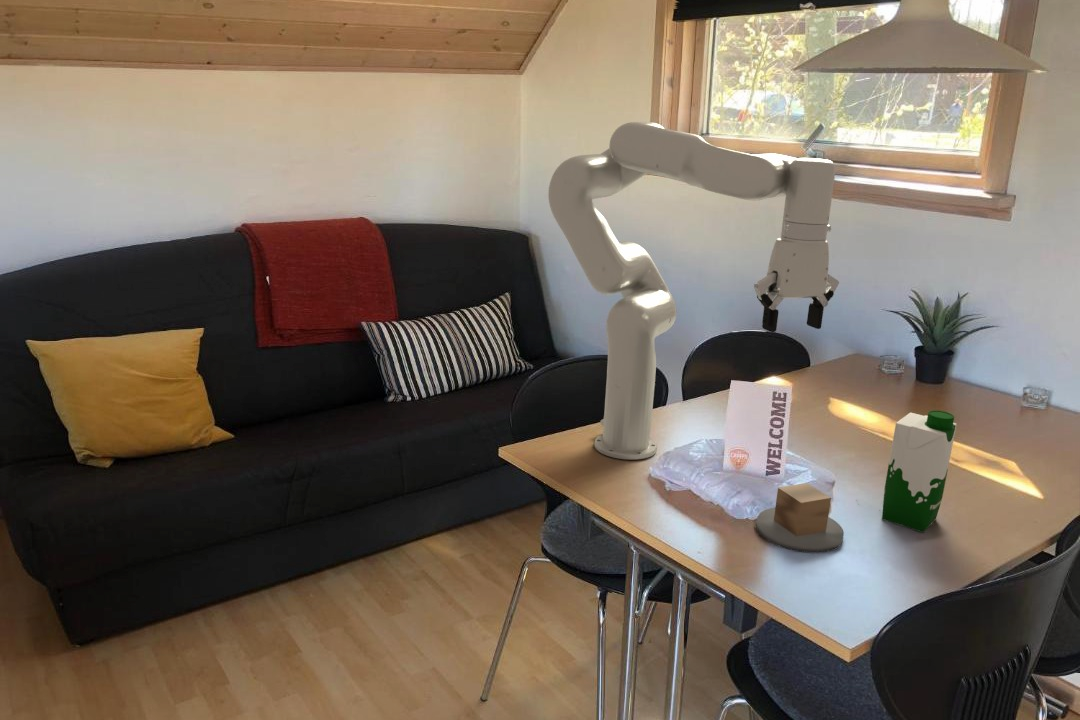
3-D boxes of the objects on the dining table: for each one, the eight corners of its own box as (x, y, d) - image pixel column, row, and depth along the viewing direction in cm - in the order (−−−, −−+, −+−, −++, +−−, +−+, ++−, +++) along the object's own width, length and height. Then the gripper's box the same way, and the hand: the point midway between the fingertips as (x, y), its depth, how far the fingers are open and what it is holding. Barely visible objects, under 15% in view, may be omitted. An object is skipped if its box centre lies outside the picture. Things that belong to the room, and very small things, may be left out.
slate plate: (739, 519, 153) (740, 513, 152) (805, 508, 158) (806, 502, 158) (791, 558, 141) (792, 551, 140) (861, 545, 146) (862, 538, 146)
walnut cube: (773, 520, 150) (778, 487, 149) (802, 515, 153) (807, 482, 151) (796, 536, 145) (801, 502, 144) (825, 531, 148) (831, 497, 146)
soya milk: (927, 536, 150) (948, 424, 144) (873, 518, 155) (892, 410, 150) (942, 519, 157) (963, 411, 151) (890, 502, 162) (909, 398, 156)
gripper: (829, 228, 160) (816, 320, 165) (749, 229, 153) (738, 326, 158) (858, 234, 153) (844, 331, 158) (776, 236, 147) (763, 337, 152)
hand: (791, 328), depth 158 cm, fingers open, 9 cm apart
